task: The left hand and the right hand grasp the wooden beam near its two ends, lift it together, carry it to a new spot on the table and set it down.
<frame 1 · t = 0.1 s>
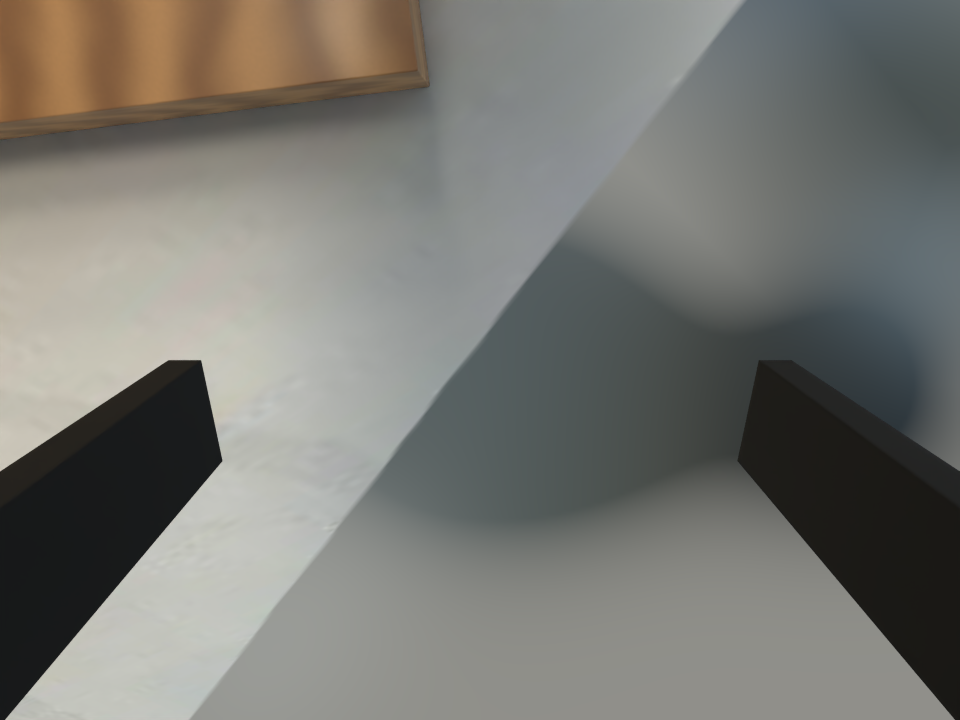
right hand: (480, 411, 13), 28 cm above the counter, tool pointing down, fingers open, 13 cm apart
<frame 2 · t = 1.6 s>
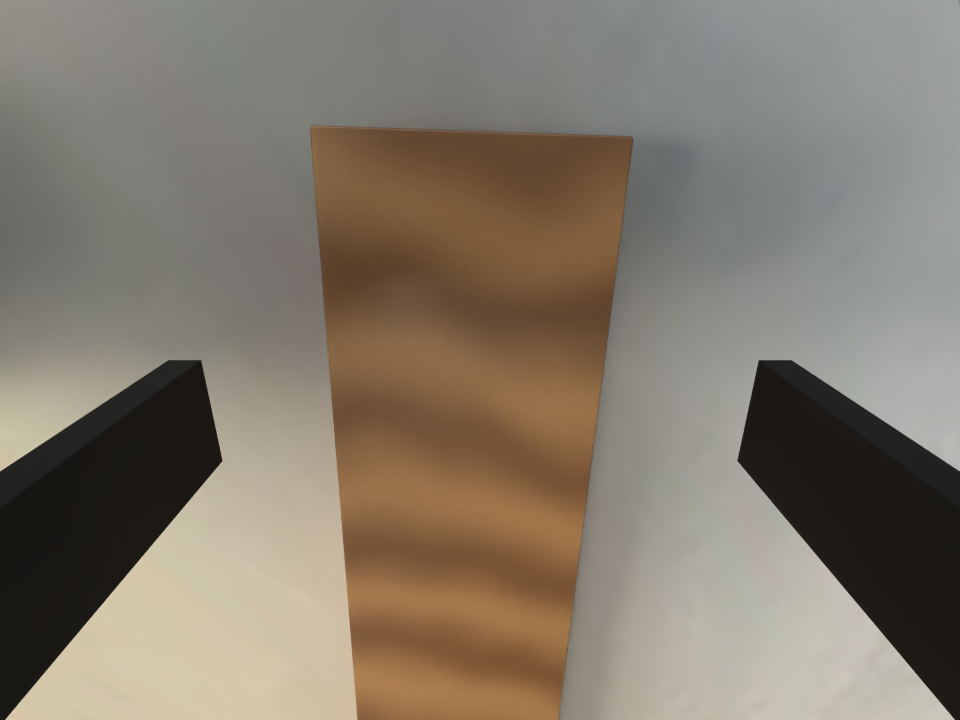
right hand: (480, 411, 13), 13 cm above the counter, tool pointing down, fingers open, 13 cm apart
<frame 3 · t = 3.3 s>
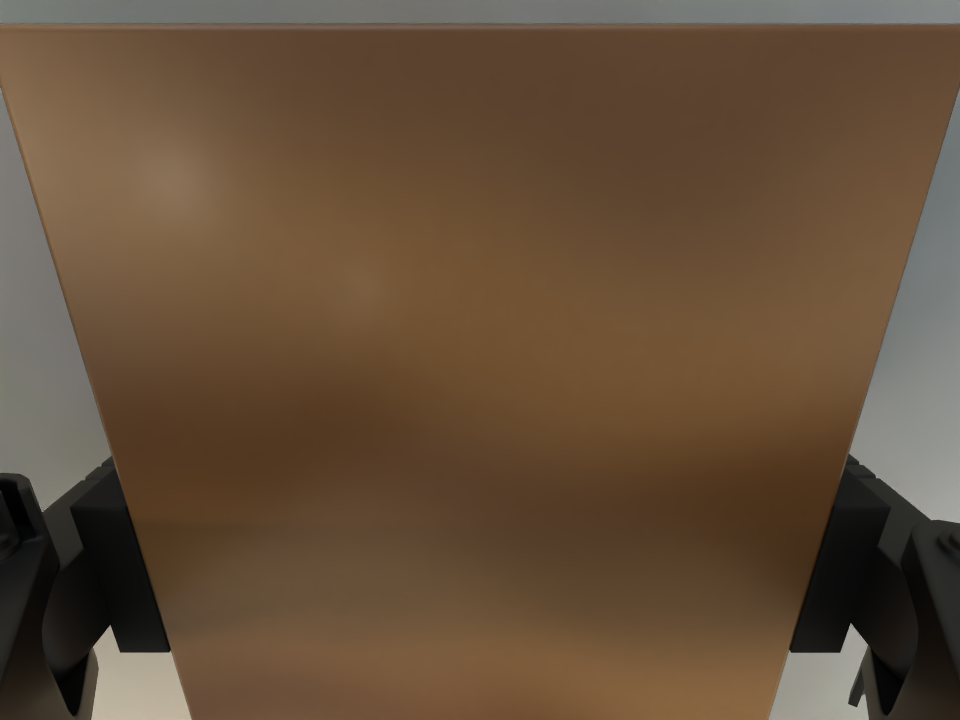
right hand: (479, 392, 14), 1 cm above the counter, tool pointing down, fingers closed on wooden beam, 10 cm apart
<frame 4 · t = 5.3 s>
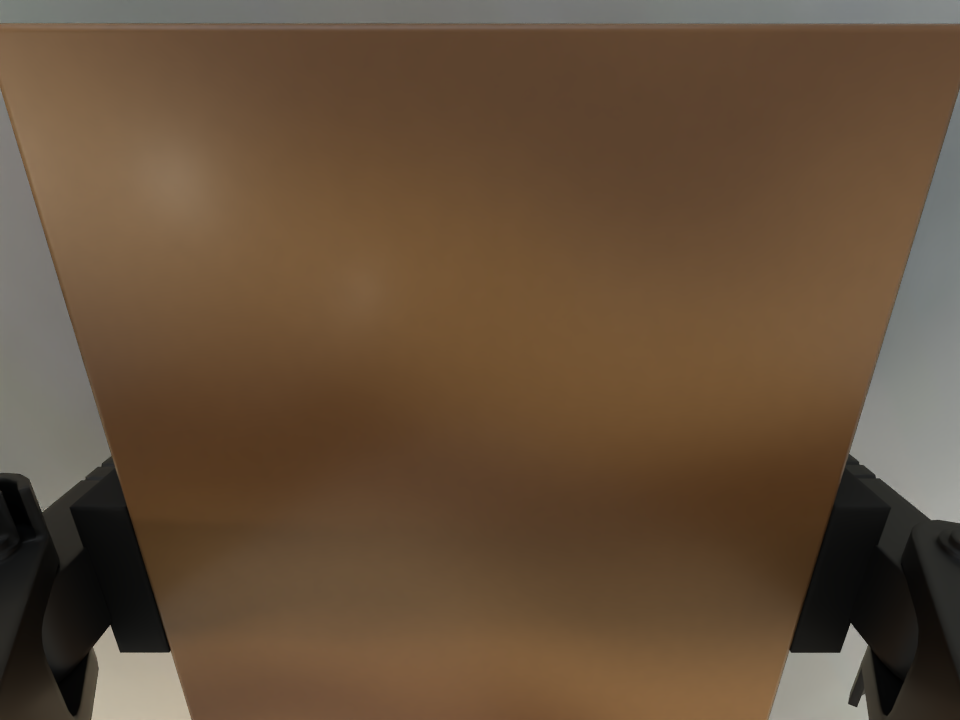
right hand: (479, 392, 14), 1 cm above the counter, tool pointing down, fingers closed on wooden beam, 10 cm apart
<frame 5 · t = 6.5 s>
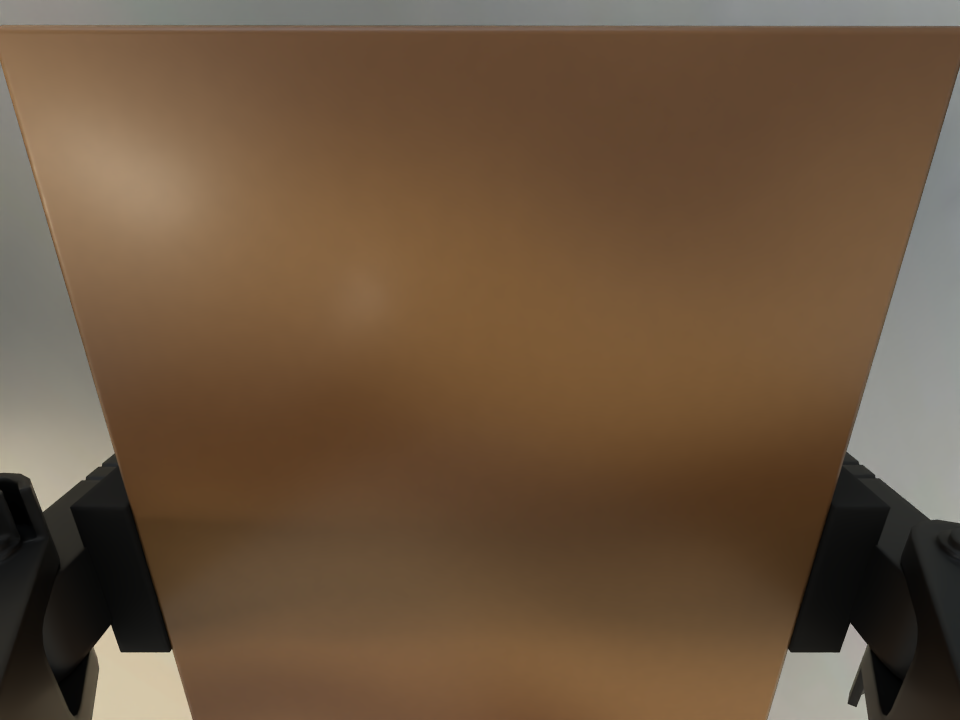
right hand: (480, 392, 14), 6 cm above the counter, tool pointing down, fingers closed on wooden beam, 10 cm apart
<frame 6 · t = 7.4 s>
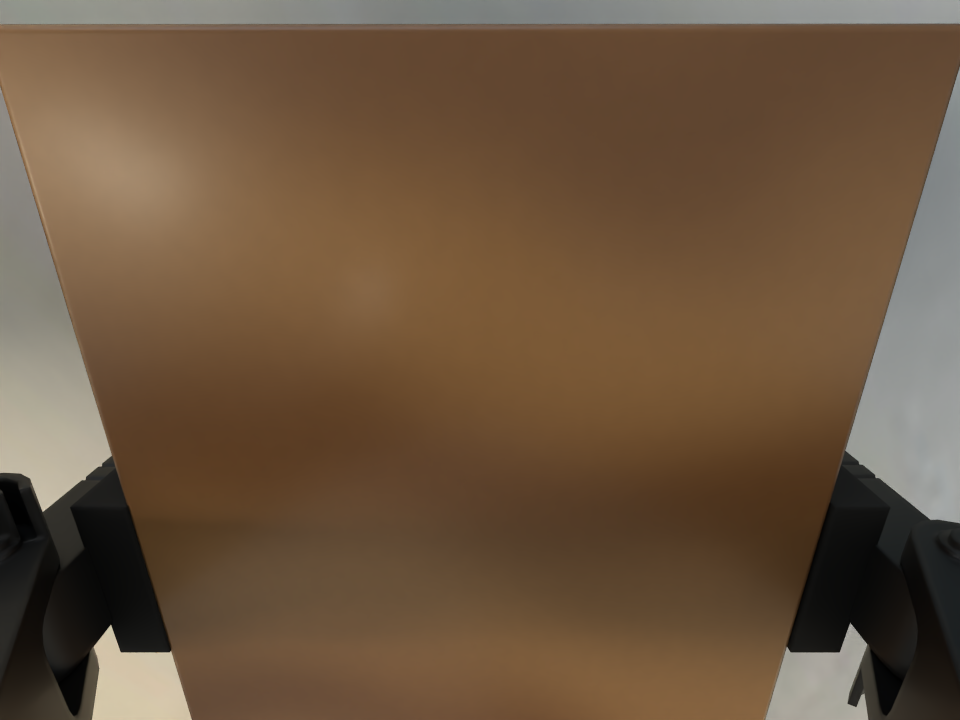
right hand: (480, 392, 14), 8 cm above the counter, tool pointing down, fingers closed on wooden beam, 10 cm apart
when the left hand's fingers open (2 cm above the counter, at t = 9.7 s): wooden beam drops 1 cm, on the counter.
when the right hand's fingers open (2 cm above the counter, at t = 9.7 s): wooden beam drops 1 cm, on the counter.
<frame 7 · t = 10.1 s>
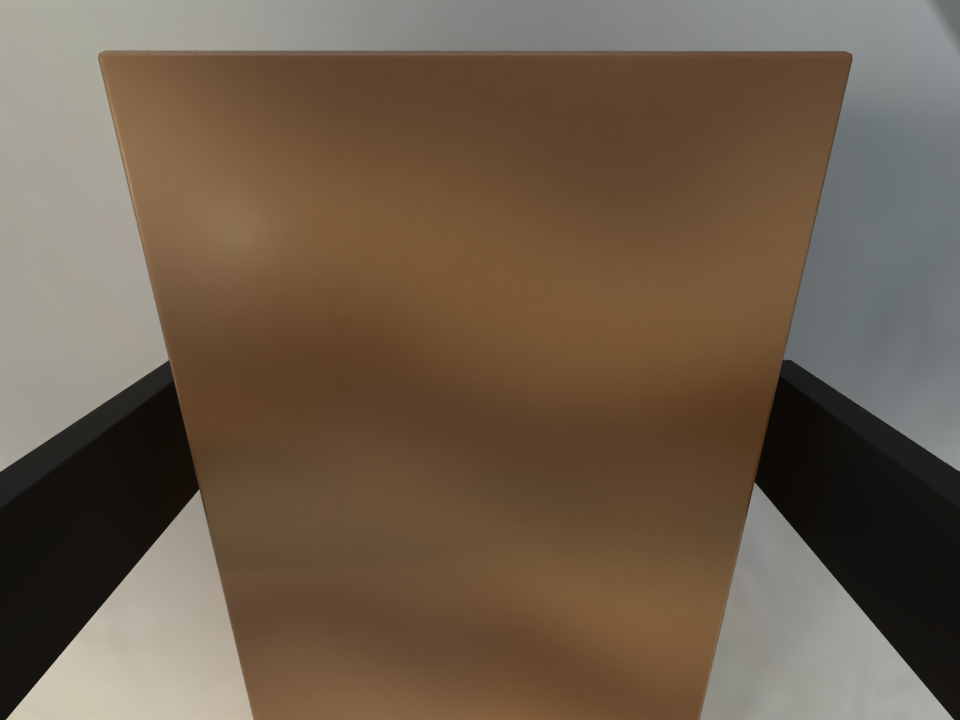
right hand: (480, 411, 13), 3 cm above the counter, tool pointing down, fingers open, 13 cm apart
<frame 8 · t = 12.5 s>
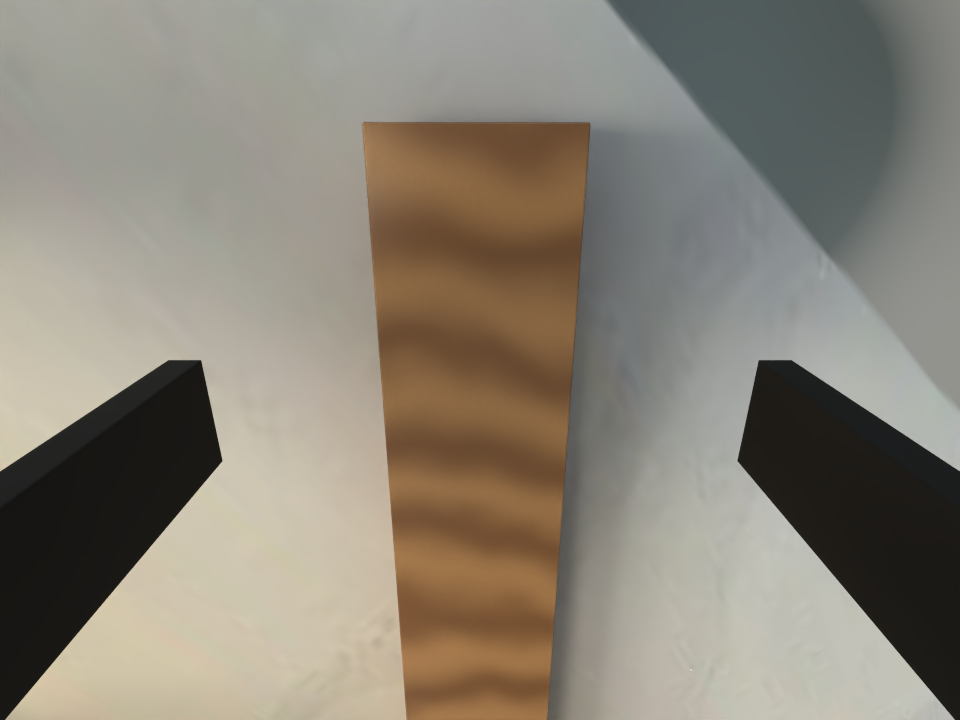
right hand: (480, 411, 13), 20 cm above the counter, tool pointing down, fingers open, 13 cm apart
wooden beam: (477, 649, 43), on the counter
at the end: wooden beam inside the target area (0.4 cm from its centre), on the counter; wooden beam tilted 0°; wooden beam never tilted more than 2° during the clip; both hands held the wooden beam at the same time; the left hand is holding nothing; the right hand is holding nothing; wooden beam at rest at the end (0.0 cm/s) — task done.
